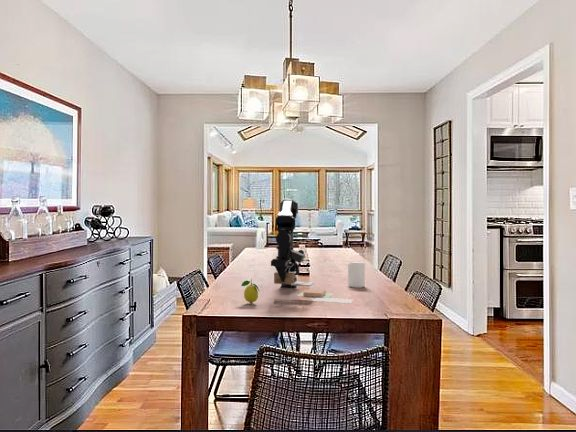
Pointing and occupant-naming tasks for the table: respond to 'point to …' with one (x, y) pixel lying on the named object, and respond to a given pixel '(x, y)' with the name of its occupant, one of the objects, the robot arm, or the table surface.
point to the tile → (314, 293)
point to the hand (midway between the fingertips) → (284, 280)
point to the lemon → (250, 292)
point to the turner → (290, 280)
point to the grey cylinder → (356, 274)
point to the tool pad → (333, 300)
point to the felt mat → (319, 297)
